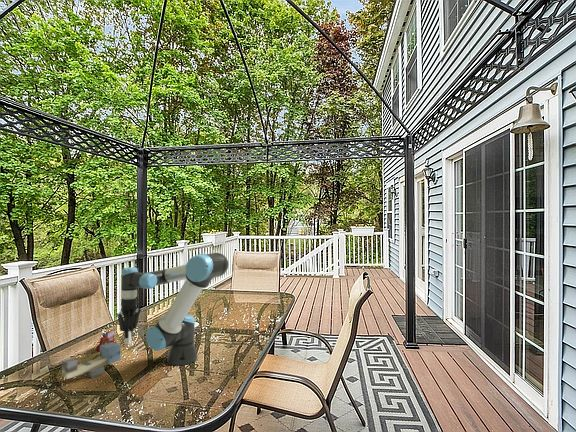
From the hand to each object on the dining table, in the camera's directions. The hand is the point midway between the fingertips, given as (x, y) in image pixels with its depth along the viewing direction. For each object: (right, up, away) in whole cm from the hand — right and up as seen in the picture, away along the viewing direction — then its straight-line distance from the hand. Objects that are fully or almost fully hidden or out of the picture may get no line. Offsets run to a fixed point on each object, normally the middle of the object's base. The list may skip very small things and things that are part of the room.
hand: (128, 343), depth 182 cm
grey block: (-5, -5, -9) cm, 11 cm away
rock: (-19, -9, -3) cm, 22 cm away
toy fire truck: (-19, -10, +15) cm, 26 cm away
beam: (-9, -9, -16) cm, 20 cm away
